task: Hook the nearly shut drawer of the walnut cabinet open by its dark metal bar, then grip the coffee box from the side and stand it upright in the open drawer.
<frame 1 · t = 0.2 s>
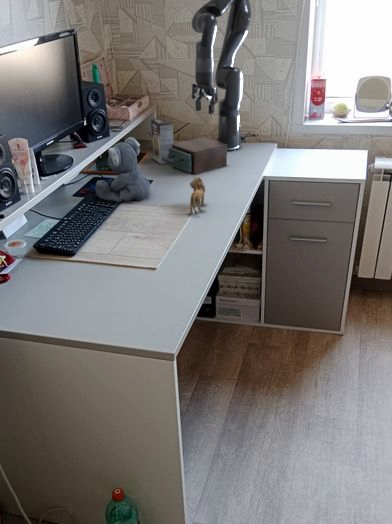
hand: (204, 112, 237), 17 cm above the table, tool pointing down, fingers open, 8 cm apart
cabinet: (199, 165, 233), on the table
koala plush: (127, 196, 205), on the table
coffee box: (163, 161, 240), on the table
drawer: (188, 157, 228), point 4 cm above the table, slide at 1.0 cm
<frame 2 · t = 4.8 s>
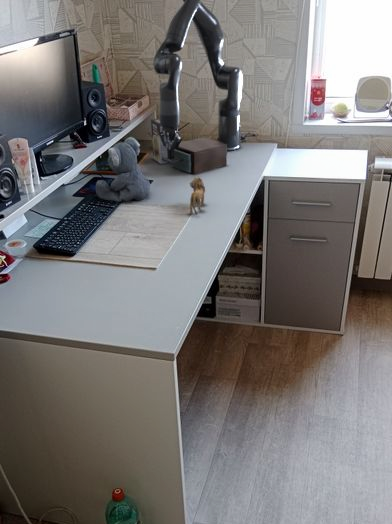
hand: (171, 158, 223), 6 cm above the table, tool pointing down, fingers closed
drawer: (188, 157, 228), point 4 cm above the table, slide at 1.2 cm, touching gripper
everything else where it was.
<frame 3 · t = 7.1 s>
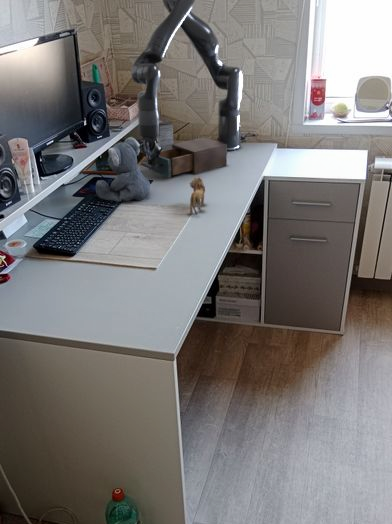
hand: (151, 168, 219), 4 cm above the table, tool pointing down, fingers closed
drawer: (168, 162, 223), point 4 cm above the table, slide at 11.0 cm
everything else where it was.
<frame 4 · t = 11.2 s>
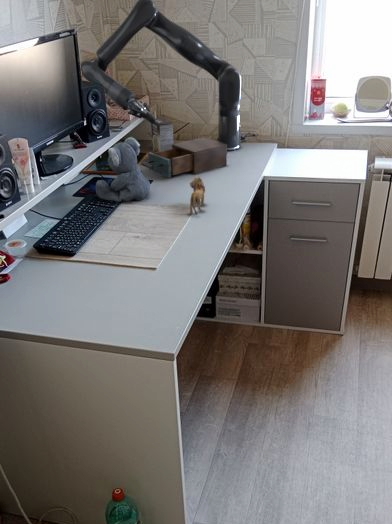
hand: (154, 121, 229), 16 cm above the table, tool tilted 60°, fingers closed
nothing on the table moved.
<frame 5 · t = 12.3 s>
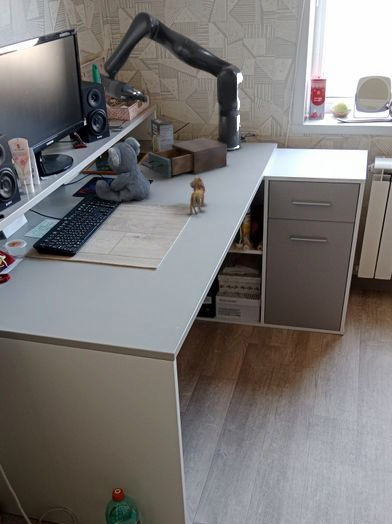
hand: (146, 99, 233), 23 cm above the table, tool horizontal, fingers closed
nothing on the table moved.
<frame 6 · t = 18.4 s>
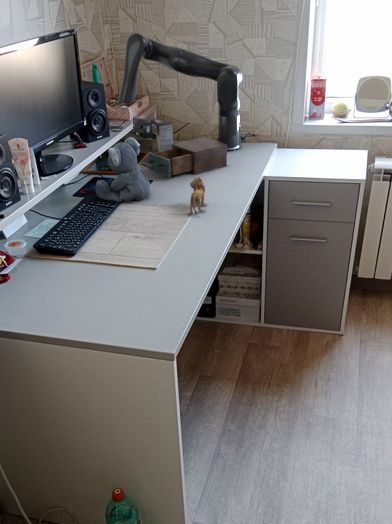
hand: (163, 134, 234), 11 cm above the table, tool horizontal, fingers closed on coffee box, 7 cm apart
coffee box: (163, 160, 240), on the table, touching gripper
everything else where it was.
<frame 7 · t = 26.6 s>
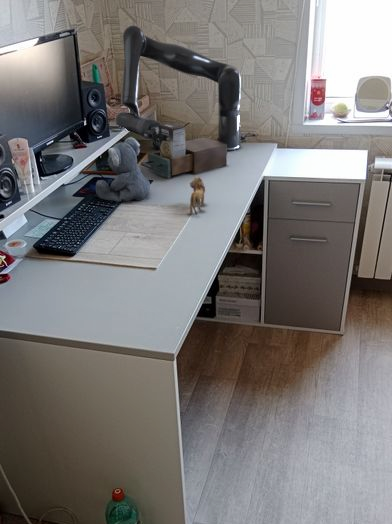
hand: (173, 136, 218), 14 cm above the table, tool horizontal, fingers closed on coffee box, 6 cm apart
coffee box: (173, 167, 226), point 2 cm above the table, touching drawer, gripper
drawer: (167, 162, 223), point 4 cm above the table, slide at 11.2 cm, touching coffee box
everything else where it was.
when the fingers open (14 cm above the table, at t = 26.6 s): coffee box stays where it is, resting on drawer.
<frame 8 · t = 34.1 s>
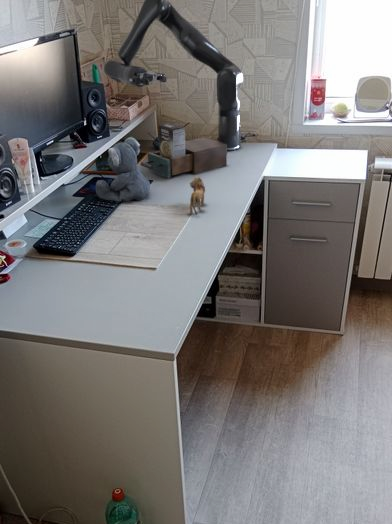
hand: (157, 80, 229), 30 cm above the table, tool horizontal, fingers open, 8 cm apart
coffee box: (173, 167, 226), point 2 cm above the table, touching drawer
everything else where it was.
at the end: drawer slide at 11.2 cm; coffee box inside the target area in the drawer (0.1 cm from its centre), point 1.9 cm above the cabinet's base; coffee box tilted 0° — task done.
